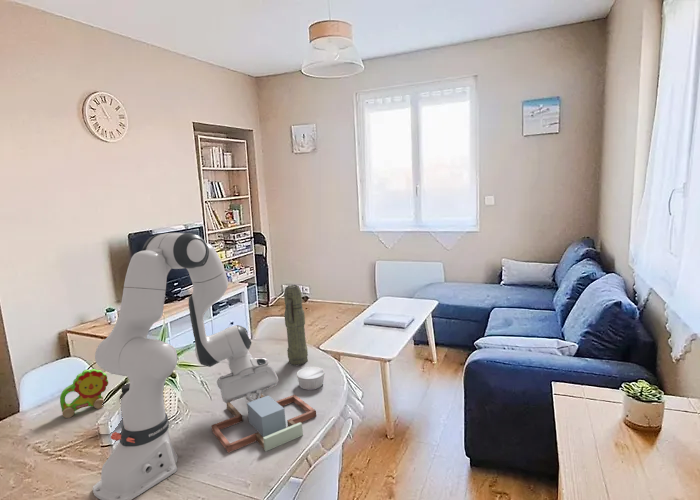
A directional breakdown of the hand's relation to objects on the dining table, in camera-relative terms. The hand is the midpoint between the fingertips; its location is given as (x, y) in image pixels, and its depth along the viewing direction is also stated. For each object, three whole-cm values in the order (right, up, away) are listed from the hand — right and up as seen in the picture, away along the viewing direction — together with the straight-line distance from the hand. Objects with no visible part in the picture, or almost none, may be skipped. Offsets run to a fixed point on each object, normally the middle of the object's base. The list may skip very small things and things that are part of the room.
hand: (257, 404), depth 150 cm
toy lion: (-67, -7, +14) cm, 69 cm away
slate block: (+4, -5, -5) cm, 8 cm away
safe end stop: (+12, -6, -15) cm, 20 cm away
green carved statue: (+9, +3, +46) cm, 47 cm away
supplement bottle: (-46, -7, +6) cm, 47 cm away
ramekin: (+17, 0, +23) cm, 28 cm away
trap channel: (+2, -5, -1) cm, 5 cm away
